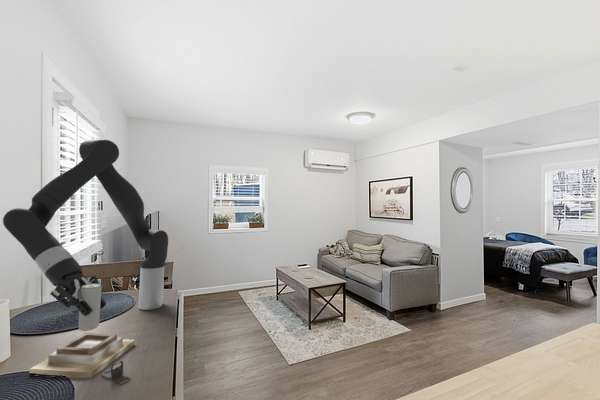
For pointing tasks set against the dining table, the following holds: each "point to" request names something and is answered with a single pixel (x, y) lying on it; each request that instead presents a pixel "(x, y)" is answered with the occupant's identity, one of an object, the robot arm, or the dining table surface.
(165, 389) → the dining table surface
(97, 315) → the beverage can
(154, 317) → the dining table surface
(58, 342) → the dining table surface
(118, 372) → the strap clip
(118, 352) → the stand
